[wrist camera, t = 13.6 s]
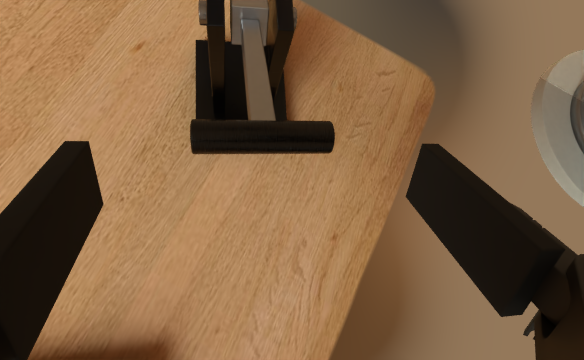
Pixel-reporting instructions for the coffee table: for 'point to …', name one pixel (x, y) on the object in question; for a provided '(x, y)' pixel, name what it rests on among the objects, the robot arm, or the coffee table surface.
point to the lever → (257, 102)
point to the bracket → (239, 62)
